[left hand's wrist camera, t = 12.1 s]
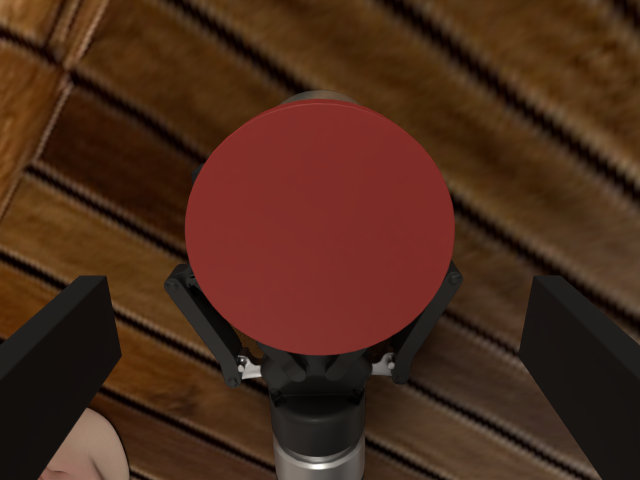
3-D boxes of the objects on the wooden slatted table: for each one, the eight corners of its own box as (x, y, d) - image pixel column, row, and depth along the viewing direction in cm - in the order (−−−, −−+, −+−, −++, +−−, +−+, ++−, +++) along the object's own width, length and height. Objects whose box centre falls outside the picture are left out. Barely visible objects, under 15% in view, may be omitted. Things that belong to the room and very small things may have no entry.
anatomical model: (-30, 422, 39) (103, 430, 39) (0, 391, 43) (122, 399, 43) (-2, 528, 44) (116, 534, 44) (23, 492, 48) (132, 498, 48)
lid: (159, 143, 19) (138, 153, 17) (410, 62, 18) (423, 62, 16) (249, 350, 23) (241, 380, 21) (460, 294, 22) (476, 320, 20)
